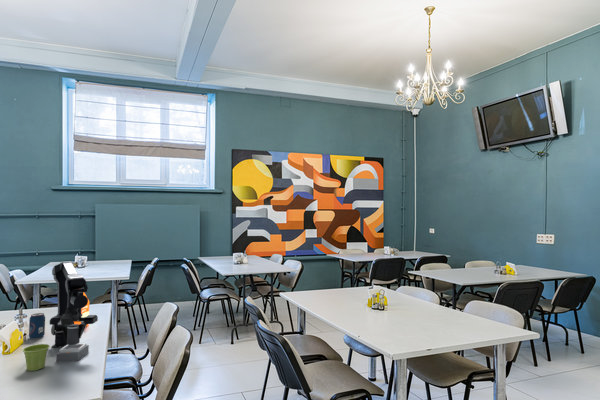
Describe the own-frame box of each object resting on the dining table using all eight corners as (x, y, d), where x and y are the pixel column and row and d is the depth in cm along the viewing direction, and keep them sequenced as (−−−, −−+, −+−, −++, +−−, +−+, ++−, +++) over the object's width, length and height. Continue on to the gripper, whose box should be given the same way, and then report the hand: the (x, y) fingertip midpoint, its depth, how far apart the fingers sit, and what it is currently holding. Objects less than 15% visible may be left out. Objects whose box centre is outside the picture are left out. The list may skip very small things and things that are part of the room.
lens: (70, 341, 179) (70, 324, 180) (81, 341, 180) (82, 323, 180) (64, 345, 174) (65, 327, 175) (76, 344, 175) (77, 327, 175)
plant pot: (19, 374, 158) (20, 352, 158) (25, 366, 166) (25, 345, 166) (46, 370, 161) (47, 349, 162) (50, 362, 170) (51, 342, 170)
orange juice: (88, 325, 227) (90, 291, 227) (78, 330, 218) (80, 294, 219) (76, 325, 227) (77, 290, 228) (65, 329, 219) (67, 293, 219)
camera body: (68, 353, 182) (68, 342, 182) (88, 352, 183) (88, 342, 183) (56, 361, 171) (56, 351, 171) (77, 361, 172) (78, 350, 172)
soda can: (25, 338, 203) (26, 315, 203) (39, 334, 209) (40, 312, 209) (33, 340, 200) (34, 316, 200) (47, 336, 206) (48, 313, 206)
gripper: (43, 308, 169) (42, 345, 168) (88, 308, 171) (87, 344, 170) (56, 302, 180) (55, 336, 179) (98, 302, 182) (97, 336, 181)
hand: (73, 338), depth 177 cm, fingers closed on lens, 5 cm apart
